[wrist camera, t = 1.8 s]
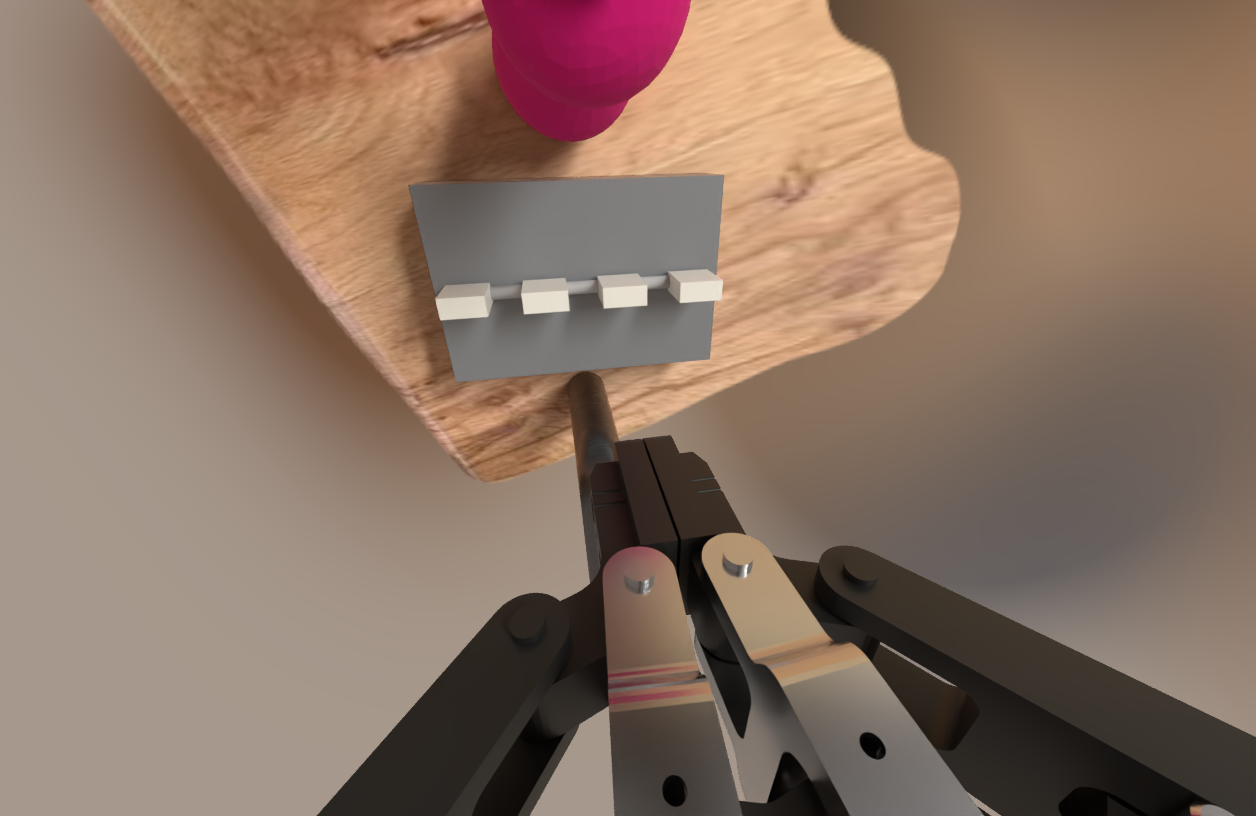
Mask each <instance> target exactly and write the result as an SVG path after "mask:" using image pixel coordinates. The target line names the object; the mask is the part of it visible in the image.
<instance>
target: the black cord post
mask: <svg viewBox="0 0 1256 816" xmlns="http://www.w3.org/2000/svg"><path fill="white" fill-rule="evenodd" d="M568 395H569V403H570V412H571V421H572V429H573V438H574V447H575V455H576V464H577V473H578V481H579V490H580V499H581V508H582V516H583V524H584V534H585V542H586V551H587V560H588V568H589V577H590V583H591V582H592V581H593V580H594V578H595V577H596V575H597V573H598V572H599V569H600V567H599V560H598V552H597V546H596V538H595V532H594V525H593V514H592V502H591V490H590V478H589V477H590V475H591V473H592V471H593V469H594V466H595V464H597V463H605V462H613V442H617V441H619V438H618V434H617V430H616V427H615V423H614V419H613V416H612V412H611V408H610V405H609V401H608V398H607V394H606V390H605V387H604V383H603V381H602V379H601V378H600V377H599V376H598V375H596V374H594V373H590V372H583V373H580V374H577V375H576V376H574V377H573V378H572V379H571V381H570V382H569V385H568Z"/></svg>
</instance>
